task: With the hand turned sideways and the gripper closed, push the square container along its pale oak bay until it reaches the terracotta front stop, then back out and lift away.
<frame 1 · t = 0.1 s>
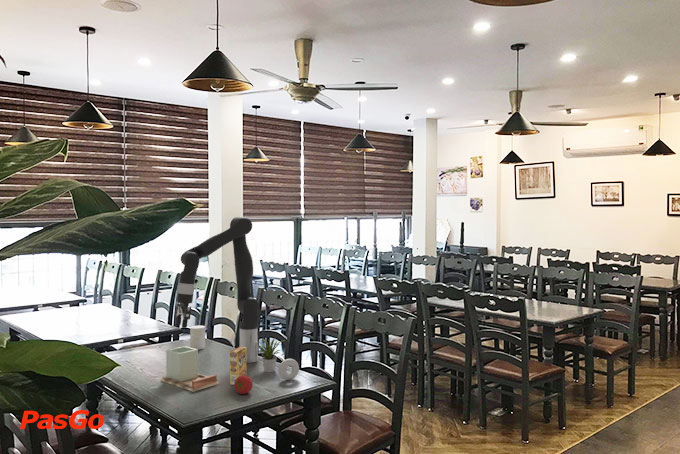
hand: (181, 326, 262), 22 cm above the table, tool pointing down, fingers open, 8 cm apart
candy box: (238, 382, 248), on the table
square container: (182, 363, 251), point 8 cm above the table, slide at 0.0 cm
donut: (288, 380, 252), on the table
cup: (197, 348, 310), on the table
bay: (189, 382, 247), on the table
tomato: (243, 394, 233), on the table
house plant: (271, 370, 268), on the table
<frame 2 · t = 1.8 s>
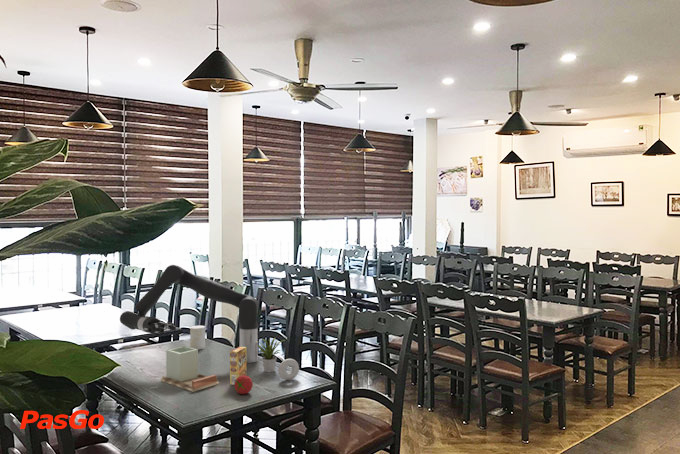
hand: (169, 329, 256), 22 cm above the table, tool horizontal, fingers open, 5 cm apart
nothing on the table moved.
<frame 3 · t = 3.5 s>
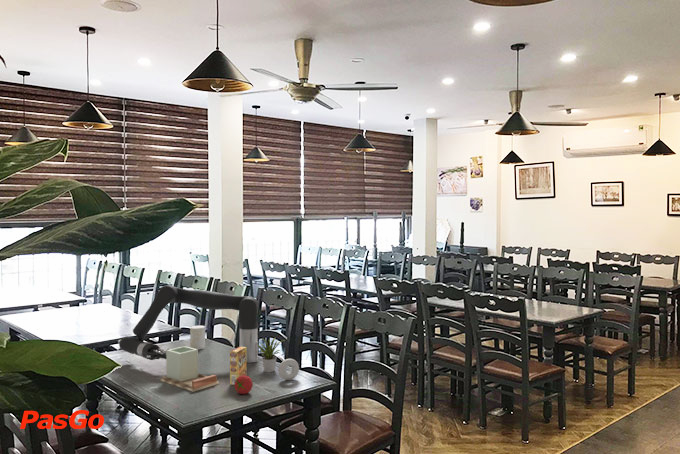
hand: (169, 357, 256), 9 cm above the table, tool horizontal, fingers closed
nothing on the table moved.
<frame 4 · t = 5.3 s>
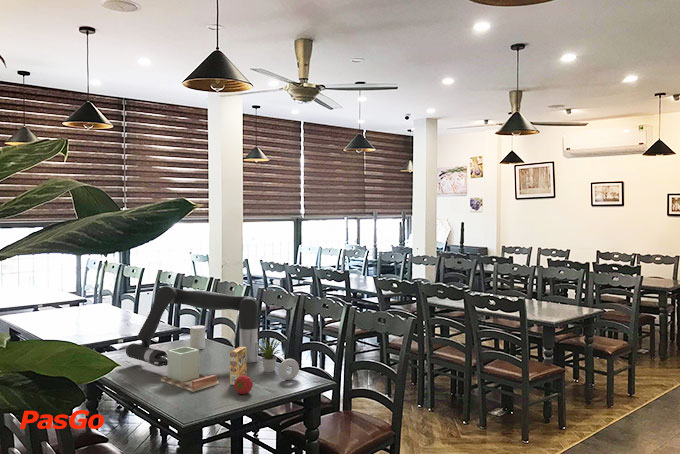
hand: (177, 363, 253), 7 cm above the table, tool horizontal, fingers closed
square container: (183, 364, 250), point 8 cm above the table, slide at 1.0 cm, touching gripper
everything else where it was.
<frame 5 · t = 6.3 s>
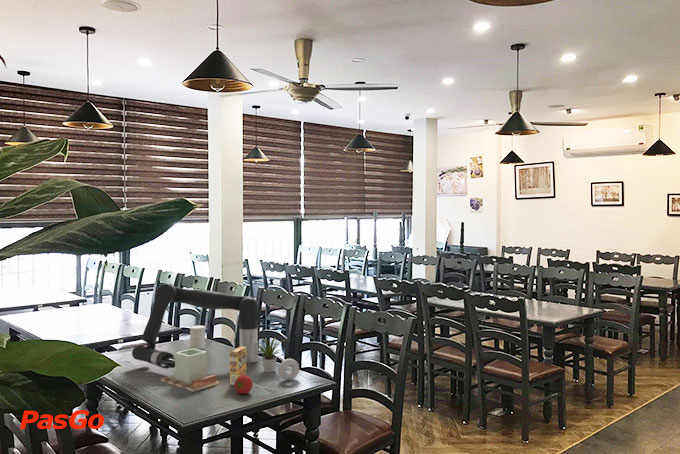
hand: (184, 365, 250), 7 cm above the table, tool horizontal, fingers closed
square container: (191, 366, 246), point 8 cm above the table, slide at 6.7 cm, touching gripper
everything else where it was.
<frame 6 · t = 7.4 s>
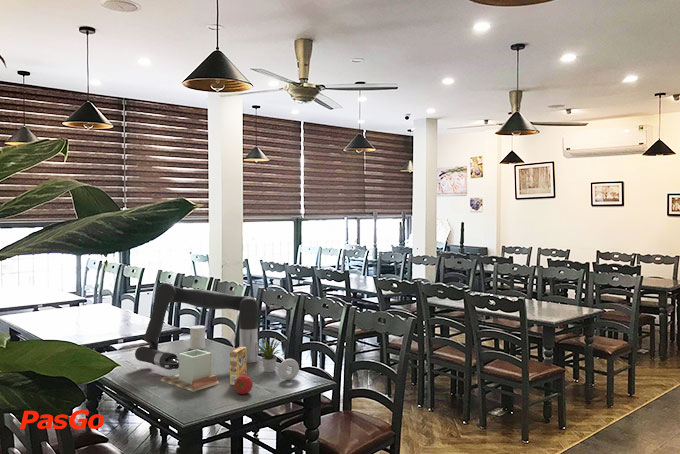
hand: (188, 366, 248), 7 cm above the table, tool horizontal, fingers closed
square container: (195, 367, 245), point 8 cm above the table, slide at 9.5 cm, touching gripper
everything else where it was.
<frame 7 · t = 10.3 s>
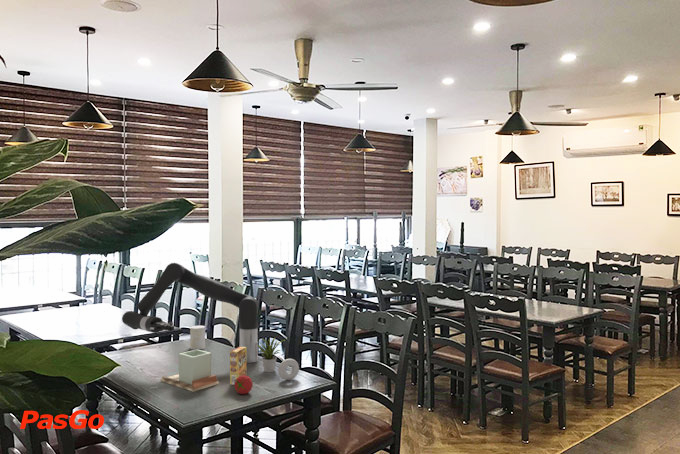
hand: (172, 328, 255), 23 cm above the table, tool horizontal, fingers closed
square container: (195, 367, 245), point 8 cm above the table, slide at 9.5 cm
everything else where it was.
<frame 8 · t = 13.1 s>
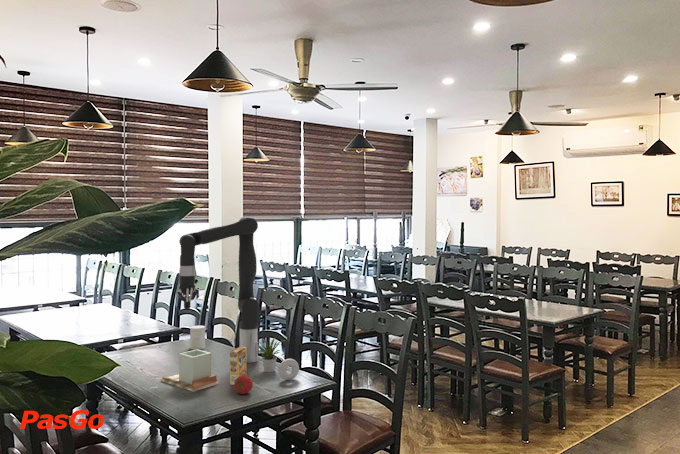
hand: (187, 309, 272), 29 cm above the table, tool pointing down, fingers closed
nothing on the table moved.
at the end: square container slide at 9.5 cm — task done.
